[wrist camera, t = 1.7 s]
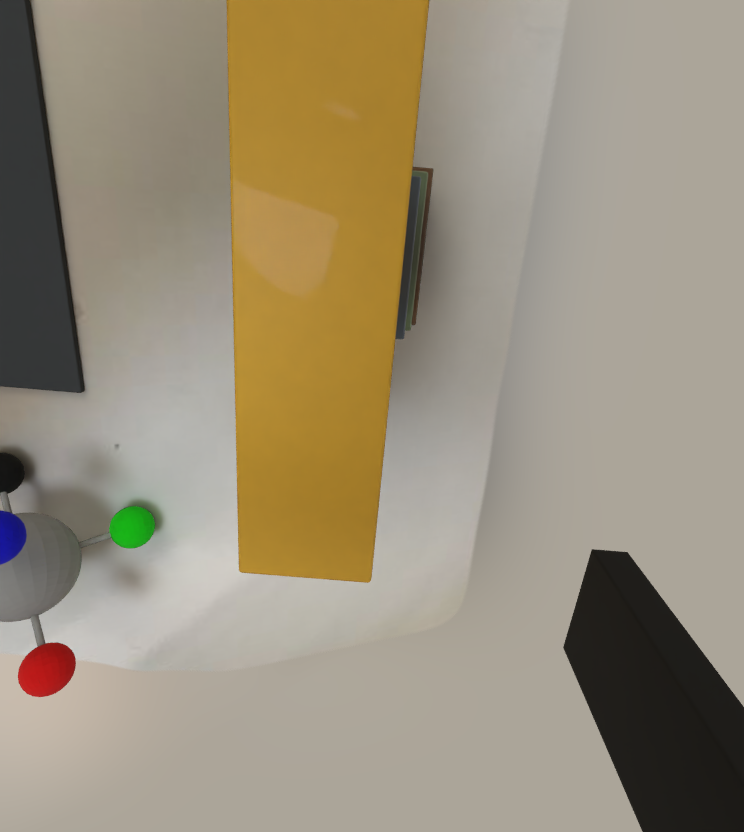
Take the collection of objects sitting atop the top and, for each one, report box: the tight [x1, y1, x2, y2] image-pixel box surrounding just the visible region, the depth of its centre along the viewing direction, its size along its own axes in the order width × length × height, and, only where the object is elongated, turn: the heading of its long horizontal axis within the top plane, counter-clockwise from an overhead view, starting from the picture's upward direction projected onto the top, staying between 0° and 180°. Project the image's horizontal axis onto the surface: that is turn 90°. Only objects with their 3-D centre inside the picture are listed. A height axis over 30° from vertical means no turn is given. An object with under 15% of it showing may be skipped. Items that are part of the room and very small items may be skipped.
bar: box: [227, 0, 429, 583], centre depth 14 cm, size 18×4×4 cm, turn 175°
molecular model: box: [0, 453, 155, 697], centre depth 29 cm, size 11×13×10 cm
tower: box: [395, 167, 433, 339], centre depth 21 cm, size 7×7×12 cm
